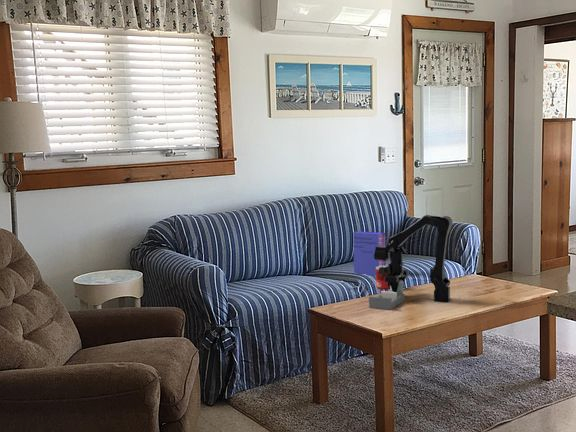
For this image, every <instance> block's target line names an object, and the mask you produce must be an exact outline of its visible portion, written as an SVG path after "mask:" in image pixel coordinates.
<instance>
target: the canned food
mask: <svg viewBox="0 0 576 432" xmlns="http://www.w3.org/2000/svg"><path fill="white" fill-rule="evenodd" d="M387 266H388V265H386V266H377V267H376V276H375V285H376V289H377V290H381V291H389V290H390V284H389V283H388V282H384V277H385V276H386V275H388V273H387V274H384V275H382V276H381V275H380V273H378V272H379V271H378V270H379V268H380V267H387ZM389 275H390V274H389ZM391 275H392V274H391Z"/></svg>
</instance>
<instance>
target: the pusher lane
mask: <svg viewBox="0 0 576 432" xmlns="http://www.w3.org/2000/svg"><path fill="white" fill-rule="evenodd" d="M405 300H406V299H405V293H403V294H401V295H400V296H398V297H397V298H395V299H394V300H392V298H382V297H381V293H380V294H379V295H377V296H369V297H368V308H370V309H378V310H389V311H391V310H393V309H394V308H395V307H397V306H398V305H399V304H401V303H402V302H403V301H405Z"/></svg>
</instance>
